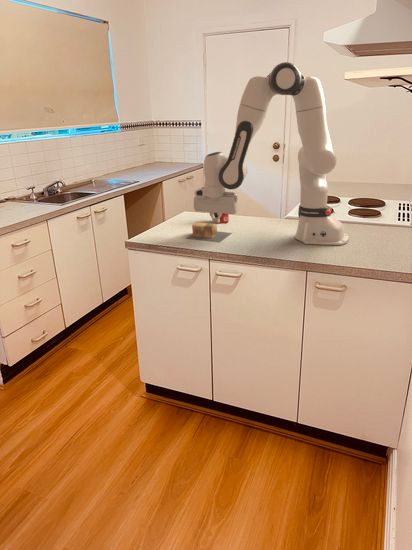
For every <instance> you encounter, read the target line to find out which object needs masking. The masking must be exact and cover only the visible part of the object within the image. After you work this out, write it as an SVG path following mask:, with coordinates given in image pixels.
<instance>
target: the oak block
mask: <svg viewBox="0 0 412 550" xmlns="http://www.w3.org/2000/svg"><path fill="white" fill-rule="evenodd" d="M191 230H192V234H193V236H199V237H208V238H213V237H215V236H216V235H217V231H218V225H217V223H208V222H207V223H206V222H198V221H197V222H196V223H194V224H192V225H191Z"/></svg>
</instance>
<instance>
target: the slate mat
mask: <svg viewBox="0 0 412 550" xmlns="http://www.w3.org/2000/svg"><path fill="white" fill-rule="evenodd" d="M232 234H233V232H226V231H218V230H217V235H216V236H215V237H213V238H208V237H199V236H193V233H192V234H191V235H189V236H187V237H186V238H185V239H186V240H196V241H204V242H211V243H212V242H213V243H221V242H222V241H224V240H225V239H226V238H228V237H229V236H230V235H232Z"/></svg>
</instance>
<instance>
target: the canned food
mask: <svg viewBox="0 0 412 550" xmlns="http://www.w3.org/2000/svg"><path fill="white" fill-rule="evenodd" d="M229 215H230V214H224V213H222V215H221V217H220V222H219V223H216V222H213V224H224V225H226V224H228V223H229V220H230V219H229ZM214 216H215V218H217V217H218V215H217V213H214Z"/></svg>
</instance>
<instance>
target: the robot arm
mask: <svg viewBox="0 0 412 550" xmlns="http://www.w3.org/2000/svg"><path fill="white" fill-rule="evenodd" d="M276 95H278V96H279V95H280V96H291V97H292V99H293V101H294V107H295V116H296V124H297V132H298V134H299V137H300V140H301V144H302V146H301V148H299V150H298V152H297V160H298V172H299V173H298V174H299V182H300V183H299V184H300V197H299V198H300V199H299V205H298V209H297V210H298V211H297V212H298V213H297V215H298V223H297V229H296V231H295V235H294V238H295V239H296V240H298V241H300V242H302V243H303V244H306V245H327V246H343V245H345V244H346V243H348V242H349V239H350V237H349V234H347V233H345V231H344V225H343V223H342V222H341V221H340V220H338V219H337V218H336V217H335V216H334V215H332V207H333V206H329V205H328V194H329V186H328V182H327V174H330V172H332V171H333V170H334V169H335V167H336V164H337V157H336V155H335V152H334V148H333V144H332V140H331V139H332V138H331V136H330V132H329V128H328V122H327V111H326V102H325V94H324V91H323V86H322V84H321V81H320V79H319V78H317V77H315V76H304V75H303V74H302V72H301V71H300V69H299V67H297V66H296V65H295V64H294V63H291V62H280V63H278V64H276V65H275V66H274V67H273V69H272V70H271V71H270V73H269V74H268V75H267V76H265V77H264V76H258V75H257V76H253V77H251V78H250V79H249V80H248V82H247V84H246V85H245V87H244V91H243V93H242V96H241V99H240V102H239V106H238V111H237V115H236V116H237V117H236V122H235V123H236V126H235V132H234V137H233V141H232V145H231V147H230V151H229V155H227V154H225V153H224V152H222V151H215V152H211V153H208V154H207V155H206V156H205V157H204V160H203V176H204V179H205V180H204V186H203V187H201V188H198V189H196V190H194V195H195V196H194V197H193V209H194V211H195V212H201V213H202V212H203V213H209V216H210V218H211V219H212V220H211V222H212V223H214V222H216V223H215V224H217V223H219V222H220V217H221V215H222V213H224V214H228V215H235V214H237V213H238V212H239V206H238V194H237V193H235V192H233V191H226V189H227V190H236V189H238V188H239V187H240V186H241V185H242V184H243V182H244V180H245V179H246V177H247V174H248V169H247V168H248V167H247V164H245V159H246V156H247V152H248V150H249V147H250V144H251V142H252V139H253V138H254V137H255V136H256V134H257V133H258V132H259V130H260V129H261V127H262V125H263V123H264V121H265V118H266V116H267V112H268V108H269V106H270V102H271V100H272V98H273V97H274V96H276ZM214 213H217V215H218V217H217V218H215V216H214Z"/></svg>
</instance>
